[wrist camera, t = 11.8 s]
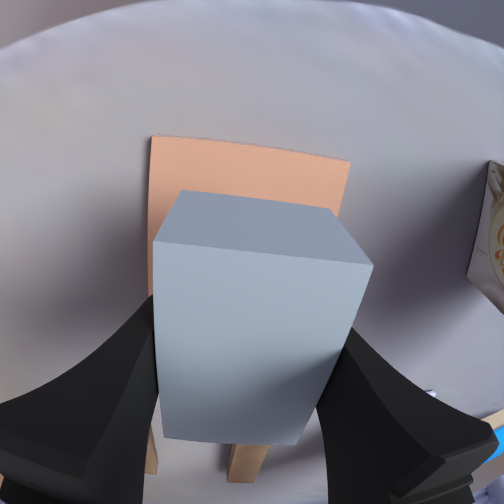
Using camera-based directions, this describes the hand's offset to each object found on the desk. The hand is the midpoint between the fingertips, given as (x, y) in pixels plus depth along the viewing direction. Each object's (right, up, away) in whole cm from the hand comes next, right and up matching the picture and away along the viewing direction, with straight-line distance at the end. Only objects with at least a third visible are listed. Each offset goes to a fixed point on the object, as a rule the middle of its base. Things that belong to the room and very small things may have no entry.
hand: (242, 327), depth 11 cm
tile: (0, +3, +7) cm, 8 cm away
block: (0, +1, +1) cm, 2 cm away
